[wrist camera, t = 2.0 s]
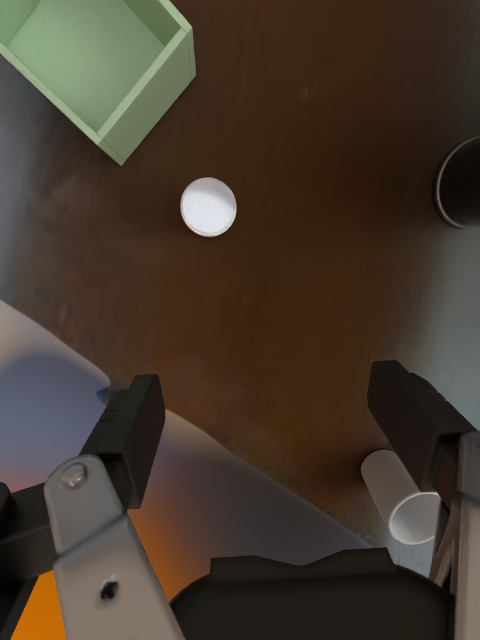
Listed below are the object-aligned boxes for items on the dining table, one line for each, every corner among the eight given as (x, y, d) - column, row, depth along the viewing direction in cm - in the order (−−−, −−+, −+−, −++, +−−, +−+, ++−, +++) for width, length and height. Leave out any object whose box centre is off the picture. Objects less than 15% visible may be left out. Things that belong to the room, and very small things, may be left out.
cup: (342, 468, 42) (375, 523, 34) (396, 421, 41) (444, 465, 32) (375, 496, 44) (413, 555, 35) (427, 452, 43) (479, 501, 34)
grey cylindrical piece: (207, 182, 31) (206, 160, 23) (239, 215, 32) (249, 205, 24) (177, 216, 31) (166, 206, 23) (210, 247, 32) (210, 248, 24)
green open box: (78, -57, 25) (35, -158, 19) (196, 75, 28) (192, 27, 22) (0, 51, 27) (-66, -9, 20) (121, 166, 30) (97, 145, 23)
